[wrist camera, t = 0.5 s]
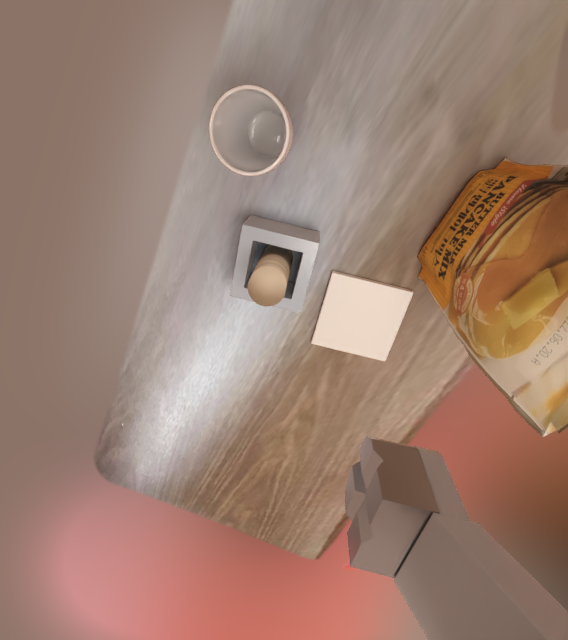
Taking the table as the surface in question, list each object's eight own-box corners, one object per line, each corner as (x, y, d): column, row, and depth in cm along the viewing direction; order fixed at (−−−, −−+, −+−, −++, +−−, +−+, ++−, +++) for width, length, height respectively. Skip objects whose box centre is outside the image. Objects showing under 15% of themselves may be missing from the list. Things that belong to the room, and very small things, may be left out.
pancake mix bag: (545, 165, 43) (868, 201, 18) (439, 300, 51) (557, 457, 26) (497, 135, 42) (765, 126, 17) (397, 277, 50) (476, 416, 25)
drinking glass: (244, 167, 46) (212, 178, 32) (238, 103, 43) (202, 85, 29) (299, 165, 45) (292, 175, 31) (298, 99, 42) (289, 80, 29)
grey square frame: (251, 214, 48) (242, 224, 43) (319, 231, 48) (319, 243, 43) (239, 279, 52) (229, 295, 46) (302, 295, 52) (300, 313, 47)
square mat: (332, 270, 50) (332, 272, 49) (411, 289, 50) (413, 292, 50) (311, 340, 55) (311, 343, 54) (384, 357, 55) (385, 361, 54)
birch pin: (266, 238, 49) (251, 266, 38) (295, 245, 49) (289, 275, 38) (260, 267, 51) (244, 301, 40) (288, 274, 51) (281, 310, 40)
